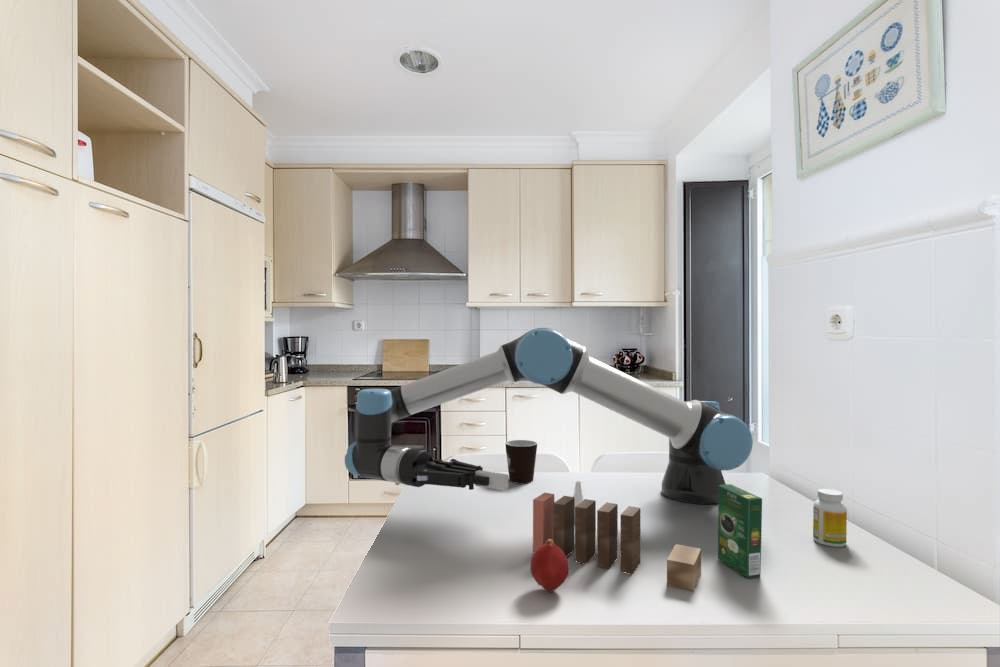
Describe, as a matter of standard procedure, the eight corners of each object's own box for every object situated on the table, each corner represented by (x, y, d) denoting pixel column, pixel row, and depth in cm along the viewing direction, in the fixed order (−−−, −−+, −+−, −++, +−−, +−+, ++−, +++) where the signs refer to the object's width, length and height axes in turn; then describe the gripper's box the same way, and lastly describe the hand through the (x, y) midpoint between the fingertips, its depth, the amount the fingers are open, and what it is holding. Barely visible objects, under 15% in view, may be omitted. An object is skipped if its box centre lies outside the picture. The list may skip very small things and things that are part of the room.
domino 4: (597, 566, 90) (597, 510, 90) (606, 556, 94) (606, 502, 94) (608, 569, 89) (608, 512, 89) (617, 558, 93) (617, 504, 93)
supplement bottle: (806, 539, 102) (807, 489, 102) (824, 535, 104) (824, 486, 104) (835, 549, 97) (835, 497, 97) (853, 545, 99) (853, 493, 99)
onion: (528, 582, 84) (528, 532, 84) (564, 581, 84) (564, 531, 84) (533, 601, 78) (533, 546, 78) (572, 599, 79) (572, 545, 79)
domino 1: (532, 552, 96) (533, 499, 96) (544, 543, 100) (544, 492, 100) (543, 554, 95) (543, 501, 95) (554, 545, 99) (554, 494, 99)
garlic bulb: (576, 513, 119) (574, 476, 119) (600, 517, 114) (597, 479, 115) (558, 520, 114) (556, 482, 115) (582, 524, 110) (579, 485, 110)
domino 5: (620, 571, 88) (620, 514, 88) (628, 560, 92) (628, 505, 92) (632, 574, 87) (632, 516, 87) (640, 563, 91) (640, 507, 91)
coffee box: (763, 578, 86) (763, 496, 86) (748, 580, 85) (748, 498, 85) (731, 557, 93) (731, 483, 93) (716, 559, 93) (716, 484, 93)
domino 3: (574, 561, 92) (575, 506, 92) (584, 551, 96) (585, 498, 96) (585, 564, 91) (585, 508, 91) (595, 553, 95) (595, 500, 95)
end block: (667, 585, 83) (667, 559, 83) (675, 568, 89) (675, 544, 89) (693, 591, 81) (693, 564, 81) (701, 573, 87) (701, 548, 87)
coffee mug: (535, 485, 138) (535, 447, 138) (502, 483, 140) (502, 445, 140) (540, 474, 150) (540, 438, 150) (510, 472, 151) (510, 437, 151)
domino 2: (553, 557, 94) (553, 503, 94) (564, 547, 98) (564, 495, 98) (564, 559, 93) (564, 504, 93) (574, 549, 97) (574, 497, 97)
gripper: (426, 477, 118) (521, 493, 107) (387, 491, 107) (488, 512, 95) (427, 443, 118) (522, 456, 107) (387, 454, 107) (489, 470, 95)
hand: (506, 482), depth 101 cm, fingers closed
